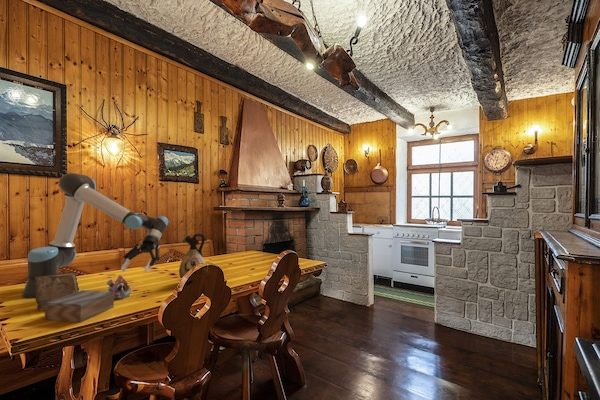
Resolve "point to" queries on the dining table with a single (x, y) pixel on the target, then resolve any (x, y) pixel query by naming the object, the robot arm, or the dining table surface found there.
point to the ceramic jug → (192, 254)
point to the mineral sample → (54, 287)
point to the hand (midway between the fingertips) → (134, 270)
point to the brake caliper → (119, 288)
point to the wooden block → (79, 306)
